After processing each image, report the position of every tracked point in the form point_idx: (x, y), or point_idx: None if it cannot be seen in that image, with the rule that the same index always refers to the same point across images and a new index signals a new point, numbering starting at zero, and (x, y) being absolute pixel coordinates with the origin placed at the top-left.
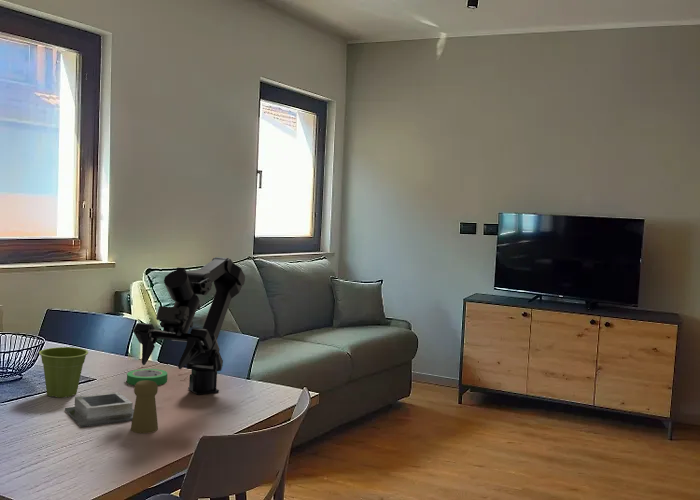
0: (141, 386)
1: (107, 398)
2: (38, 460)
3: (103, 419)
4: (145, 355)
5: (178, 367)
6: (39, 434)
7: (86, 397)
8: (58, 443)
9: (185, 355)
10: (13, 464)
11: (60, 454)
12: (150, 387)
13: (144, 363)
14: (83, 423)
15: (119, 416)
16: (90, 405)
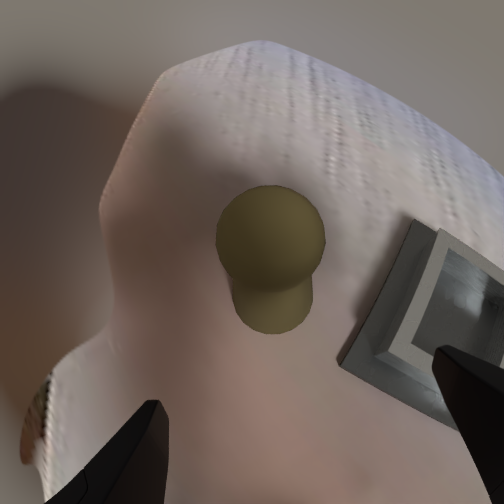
0: (261, 186)
1: None
2: (318, 86)
3: (408, 278)
4: (469, 375)
5: (159, 403)
6: (429, 158)
7: None
8: (362, 138)
9: (95, 460)
10: (333, 72)
11: (312, 108)
12: (226, 207)
13: (436, 368)
14: (418, 228)
15: (392, 320)
16: (497, 326)
